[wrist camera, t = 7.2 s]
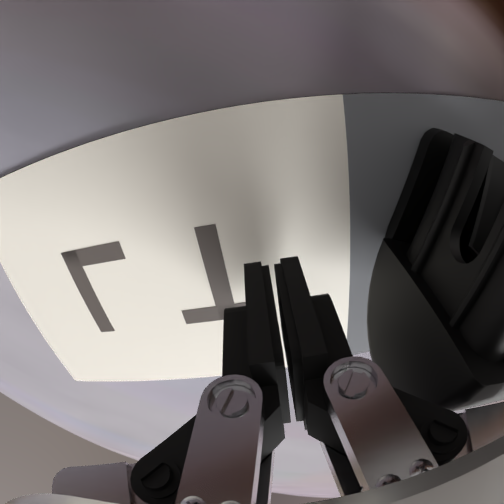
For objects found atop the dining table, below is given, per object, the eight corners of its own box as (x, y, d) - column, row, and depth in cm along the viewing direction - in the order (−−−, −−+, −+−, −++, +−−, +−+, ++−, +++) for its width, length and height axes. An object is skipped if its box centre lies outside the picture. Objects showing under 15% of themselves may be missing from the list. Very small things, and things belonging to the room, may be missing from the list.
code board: (-28, 191, 9) (-30, 193, 9) (341, 94, 8) (342, 94, 8) (76, 379, 14) (75, 381, 14) (345, 355, 14) (345, 356, 14)
